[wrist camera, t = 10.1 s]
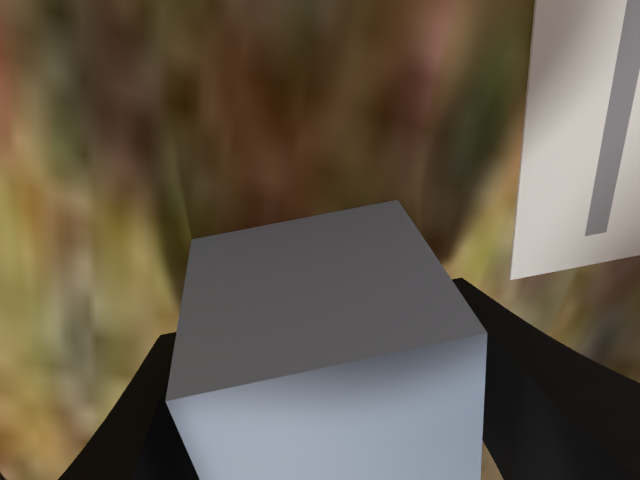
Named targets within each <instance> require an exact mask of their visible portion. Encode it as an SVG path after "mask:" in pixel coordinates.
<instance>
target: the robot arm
mask: <svg viewBox="0 0 640 480" xmlns="http://www.w3.org/2000/svg"><path fill="white" fill-rule="evenodd" d="M452 281H453V283H454V284H455V285H456V287H457V288H458V290H459V291H460V293H461V294H462V296H463V297H464V299H465V300H466V302H467V303H468V305H469V306H470V308H471V309H472V311H473V312H474V314H475V315H476V317H477V318H478V320H479V321H480V323H481V324H482V326H483V327H484V329H485V330H486V332H487V353H486V373H485V394H484V415H483V436H482V440H483V441H484V443H485V445H486V447H487V449H488V451H489V452H490V454H491V456H492V458H493V460H494V461H495V463H496V465H497V467H498V469H499V471H500V473H501V475H502V477H503V479H504V480H640V383H638V382H636V381H634V380H631V379H629V378H627V377H625V376H623V375H621V374H619V373H617V372H615V371H613V370H611V369H609V368H607V367H604V366H602V365H600V364H598V363H596V362H594V361H592V360H590V359H589V358H587V357H585V356H583V355H581V354H579V353H577V352H576V351H574V350H572V349H570V348H569V347H567V346H565V345H563V344H562V343H560V342H558V341H556V340H555V339H553V338H551V337H550V336H548V335H546V334H545V333H543V332H541V331H540V330H538V329H537V328H535V327H533V326H532V325H530V324H529V323H527V322H526V321H524V320H523V319H521V318H519V317H518V316H516V315H515V314H513V313H512V312H510V311H509V310H508V309H506V308H505V307H503V306H502V305H500V304H499V303H497V302H496V301H494V300H493V299H492V298H490V297H489V296H487V295H486V294H484V293H483V292H482V291H480V290H479V289H477V288H476V287H474V286H473V285H472V284H470V283H469V282H467V281H466V280H464V279H463V278H458V279H453V280H452ZM176 333H177V332H174V333H169V334H164V335H160V336H159V338H158V339H157V341H156V342H155V344H154V345H153V347H152V348H151V350H150V352H149V353H148V355H147V356H146V358H145V360H144V361H143V363H142V365H141V366H140V368H139V369H138V371H137V372H136V374H135V376H134V377H133V379H132V380H131V382H130V383H129V385H128V386H127V388H126V389H125V391H124V392H123V394H122V395H121V397H120V398H119V400H118V401H117V403H116V404H115V406H114V407H113V409H112V410H111V412H110V413H109V415H108V416H107V417H106V419H105V420H104V421H103V423H102V424H101V426H100V427H99V428H98V430H97V431H96V432H95V434H94V435H93V436H92V438H91V439H90V440H89V442H88V443H87V444H86V446H85V447H84V448H83V450H82V451H81V452H80V454H79V455H78V456H77V457H76V459H75V460H74V461H73V462H72V464H71V465H70V466H69V467H68V468H67V470H66V471H65V472H64V473H63V474H62V476H61V477H60V478H59V479H58V480H200V479H199V477H198V475H197V472H196V470H195V468H194V465H193V463H192V461H191V459H190V456H189V454H188V452H187V450H186V447H185V445H184V443H183V440H182V438H181V436H180V434H179V431H178V429H177V427H176V425H175V422H174V420H173V418H172V415H171V413H170V411H169V409H168V406H167V404H166V402H165V400H166V394H167V388H168V382H169V376H170V370H171V363H172V357H173V351H174V345H175V339H176Z"/></svg>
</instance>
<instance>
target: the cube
mask: <svg viewBox="0 0 640 480" xmlns="http://www.w3.org/2000/svg"><path fill="white" fill-rule="evenodd" d="M486 353H487V332H486V330H485V329H484V327H483V326H482V324H481V323H480V321H479V320H478V318H477V317H476V315H475V314H474V312H473V311H472V309H471V308H470V306H469V305H468V303H467V302H466V300H465V299H464V297H463V296H462V294H461V293H460V291H459V290H458V288H457V287H456V285H455V284H454V283H453V281H452V280H451V278H450V277H449V275H448V274H447V272H446V271H445V269H444V268H443V266H442V265H441V263H440V262H439V260H438V259H437V257H436V256H435V254H434V253H433V251H432V250H431V248H430V247H429V245H428V244H427V242H426V241H425V239H424V238H423V236H422V235H421V233H420V232H419V230H418V229H417V227H416V226H415V225H414V223H413V222H412V220H411V219H410V217H409V216H408V214H407V213H406V211H405V210H404V208H403V207H402V205H401V204H400V202H399V201H398V200H393V201H388V202H383V203H378V204H373V205H367V206H362V207H357V208H352V209H347V210H342V211H336V212H331V213H326V214H321V215H316V216H310V217H305V218H300V219H295V220H290V221H285V222H279V223H274V224H269V225H264V226H259V227H253V228H248V229H243V230H238V231H233V232H228V233H222V234H217V235H212V236H207V237H202V238H196V239H192V240H191V246H190V252H189V259H188V265H187V271H186V277H185V283H184V289H183V296H182V302H181V308H180V314H179V320H178V326H177V333H176V339H175V345H174V351H173V357H172V363H171V370H170V376H169V382H168V388H167V394H166V400H165V402H166V404H167V406H168V409H169V411H170V413H171V415H172V418H173V420H174V422H175V425H176V427H177V429H178V431H179V434H180V436H181V438H182V440H183V443H184V445H185V447H186V450H187V452H188V454H189V456H190V459H191V461H192V463H193V465H194V468H195V470H196V472H197V475H198V477H199V479H200V480H480V478H481V457H482V436H483V415H484V394H485V373H486Z"/></svg>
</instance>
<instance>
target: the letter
mask: <svg viewBox="0 0 640 480" xmlns="http://www.w3.org/2000/svg"><path fill="white" fill-rule="evenodd" d="M638 255H640V0H535V4H534V15H533V25H532V36H531V47H530V58H529V69H528V80H527V90H526V101H525V112H524V123H523V134H522V145H521V156H520V166H519V177H518V188H517V199H516V210H515V221H514V231H513V242H512V253H511V264H510V275H509V279H510V280H513V279H518V278H524V277H529V276H534V275H539V274H545V273H550V272H555V271H560V270H565V269H571V268H576V267H581V266H586V265H591V264H597V263H602V262H607V261H612V260H617V259H623V258H628V257H633V256H638Z"/></svg>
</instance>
